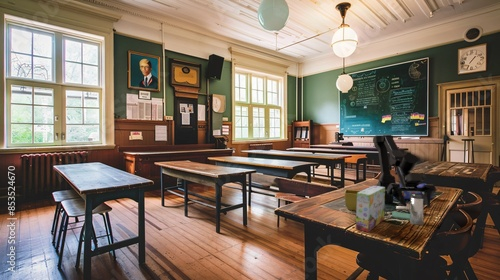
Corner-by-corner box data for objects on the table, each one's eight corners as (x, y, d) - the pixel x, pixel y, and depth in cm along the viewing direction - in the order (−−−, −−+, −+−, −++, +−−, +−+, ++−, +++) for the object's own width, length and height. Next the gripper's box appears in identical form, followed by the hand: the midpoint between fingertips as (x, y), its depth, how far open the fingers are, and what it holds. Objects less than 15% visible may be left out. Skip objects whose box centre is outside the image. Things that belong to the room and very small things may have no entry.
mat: (392, 217, 113) (392, 216, 113) (392, 212, 120) (392, 211, 120) (412, 220, 109) (412, 219, 109) (411, 215, 116) (411, 214, 116)
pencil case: (397, 200, 144) (397, 184, 143) (389, 196, 152) (389, 181, 152) (435, 200, 143) (435, 184, 143) (424, 197, 152) (424, 181, 152)
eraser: (406, 208, 128) (406, 204, 128) (405, 207, 130) (405, 203, 130) (417, 209, 126) (417, 205, 126) (416, 208, 129) (416, 204, 129)
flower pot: (363, 208, 128) (363, 191, 128) (363, 212, 120) (363, 194, 120) (345, 206, 131) (345, 189, 131) (344, 210, 123) (344, 192, 123)
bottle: (410, 223, 105) (410, 194, 105) (409, 220, 109) (410, 192, 109) (423, 225, 103) (424, 196, 102) (422, 222, 107) (422, 194, 106)
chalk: (397, 209, 126) (397, 206, 126) (396, 208, 127) (396, 205, 127) (411, 210, 125) (411, 207, 125) (410, 209, 126) (410, 206, 126)
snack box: (370, 233, 95) (370, 194, 95) (355, 229, 99) (355, 192, 99) (385, 219, 110) (385, 186, 110) (371, 216, 114) (372, 184, 114)
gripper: (389, 165, 112) (400, 195, 101) (434, 166, 109) (450, 197, 98) (382, 180, 119) (391, 209, 109) (424, 181, 117) (438, 211, 106)
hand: (417, 206), depth 105 cm, fingers open, 9 cm apart
